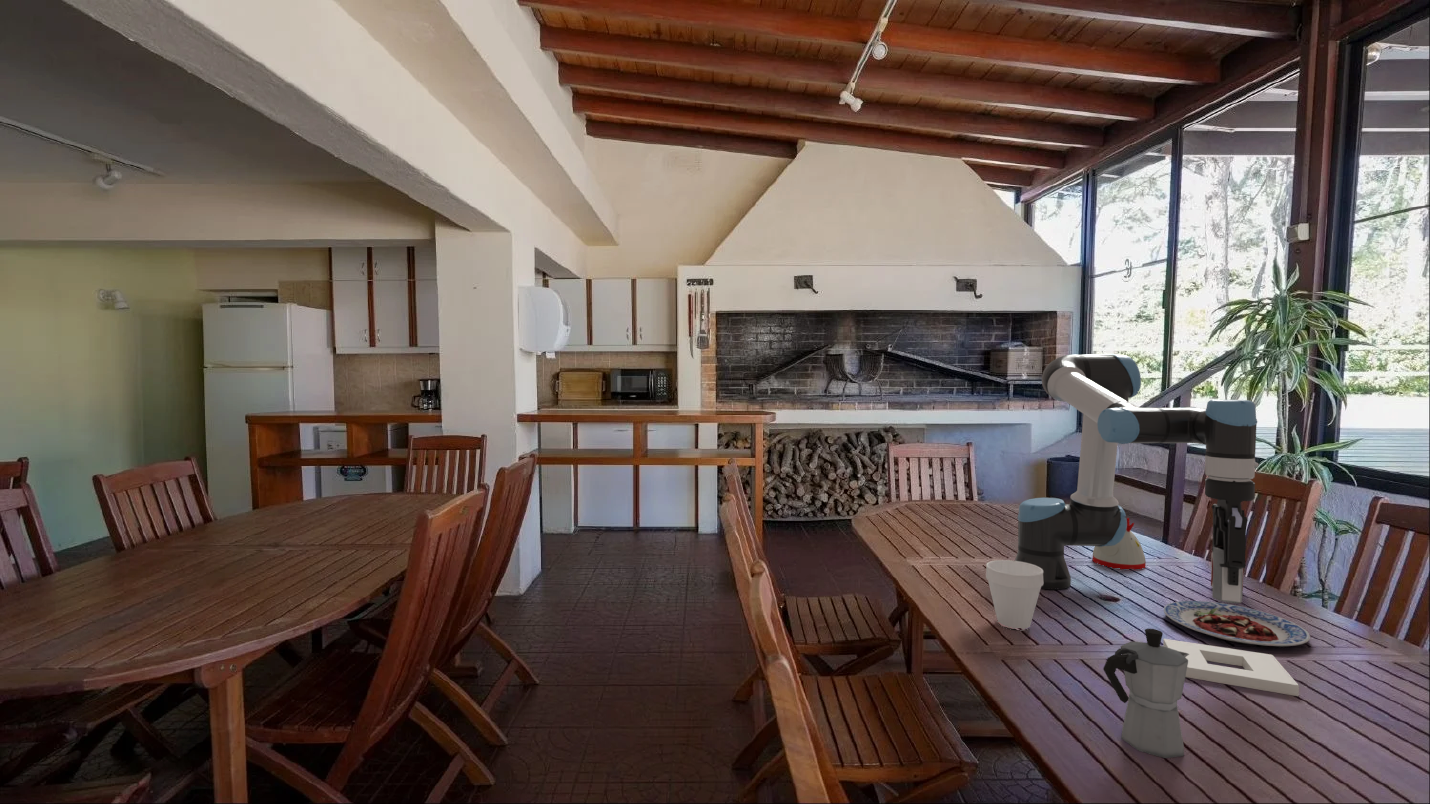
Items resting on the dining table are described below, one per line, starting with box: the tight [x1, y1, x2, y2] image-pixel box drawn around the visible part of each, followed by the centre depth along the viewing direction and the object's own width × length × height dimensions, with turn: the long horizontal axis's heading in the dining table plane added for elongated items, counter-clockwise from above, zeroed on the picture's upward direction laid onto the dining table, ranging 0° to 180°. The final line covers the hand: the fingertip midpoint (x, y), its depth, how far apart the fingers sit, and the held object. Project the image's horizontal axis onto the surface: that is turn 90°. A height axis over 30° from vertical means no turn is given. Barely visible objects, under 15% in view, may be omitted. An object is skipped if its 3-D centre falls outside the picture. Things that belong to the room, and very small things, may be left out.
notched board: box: [1162, 638, 1300, 697], centre depth 123 cm, size 18×14×2 cm
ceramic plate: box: [1163, 600, 1311, 647], centre depth 143 cm, size 26×26×3 cm
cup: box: [985, 559, 1044, 629], centre depth 146 cm, size 12×12×14 cm
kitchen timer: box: [1092, 517, 1147, 570], centre depth 194 cm, size 14×14×15 cm
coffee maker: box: [1102, 628, 1189, 759], centre depth 99 cm, size 15×9×18 cm, turn 99°
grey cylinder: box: [1212, 545, 1244, 604], centre depth 123 cm, size 4×4×10 cm
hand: (1227, 596), depth 123 cm, fingers closed on grey cylinder, 4 cm apart
